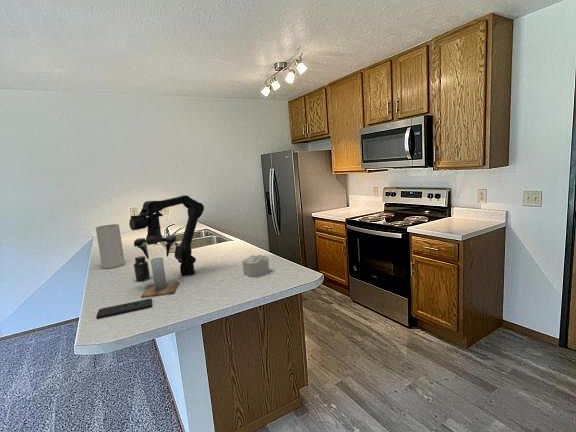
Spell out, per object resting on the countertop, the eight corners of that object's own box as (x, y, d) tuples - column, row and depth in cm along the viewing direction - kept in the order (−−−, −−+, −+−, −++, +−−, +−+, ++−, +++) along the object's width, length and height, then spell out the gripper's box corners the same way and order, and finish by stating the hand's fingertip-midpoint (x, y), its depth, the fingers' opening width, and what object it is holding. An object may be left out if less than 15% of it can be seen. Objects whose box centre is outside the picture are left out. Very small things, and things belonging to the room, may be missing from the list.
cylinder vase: (123, 266, 197) (117, 226, 193) (100, 270, 192) (93, 229, 188) (125, 261, 208) (120, 223, 204) (103, 265, 204) (97, 226, 200)
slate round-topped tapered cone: (166, 285, 154) (162, 256, 152) (167, 288, 150) (163, 259, 148) (154, 287, 152) (150, 259, 150) (155, 291, 148) (150, 261, 146)
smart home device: (151, 304, 132) (95, 316, 124) (152, 308, 132) (96, 320, 125) (151, 297, 140) (99, 308, 132) (152, 301, 140) (99, 312, 132)
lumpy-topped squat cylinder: (241, 273, 167) (240, 257, 166) (262, 267, 175) (261, 252, 173) (251, 278, 159) (250, 261, 157) (273, 271, 166) (272, 255, 165)
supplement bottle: (153, 277, 172) (150, 255, 170) (144, 281, 165) (140, 259, 163) (142, 276, 174) (139, 255, 172) (133, 281, 167) (129, 259, 165)
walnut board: (178, 283, 159) (178, 281, 159) (174, 293, 146) (173, 291, 145) (148, 287, 157) (148, 285, 157) (141, 298, 143) (140, 295, 143)
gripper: (128, 231, 148) (133, 264, 150) (170, 227, 151) (174, 259, 153) (135, 227, 159) (139, 258, 161) (174, 223, 162) (178, 254, 164)
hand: (157, 257), depth 160 cm, fingers open, 9 cm apart
